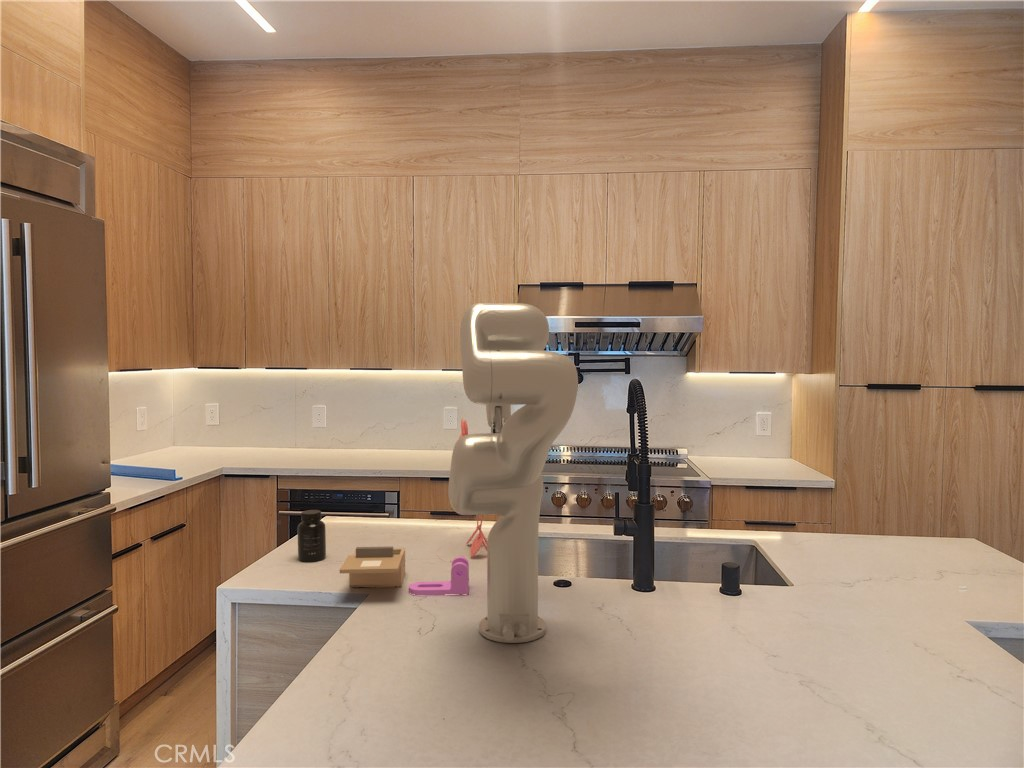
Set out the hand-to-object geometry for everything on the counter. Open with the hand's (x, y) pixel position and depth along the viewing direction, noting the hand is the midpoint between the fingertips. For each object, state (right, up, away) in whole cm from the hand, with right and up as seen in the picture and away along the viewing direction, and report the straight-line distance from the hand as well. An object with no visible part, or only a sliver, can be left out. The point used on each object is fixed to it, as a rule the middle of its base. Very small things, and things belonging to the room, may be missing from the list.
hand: (497, 458), depth 149 cm
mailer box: (-27, -29, +8) cm, 40 cm away
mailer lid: (-27, -23, -2) cm, 35 cm away
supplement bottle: (-47, -28, +24) cm, 60 cm away
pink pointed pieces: (-9, -28, +30) cm, 42 cm away
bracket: (-13, -30, +1) cm, 32 cm away
